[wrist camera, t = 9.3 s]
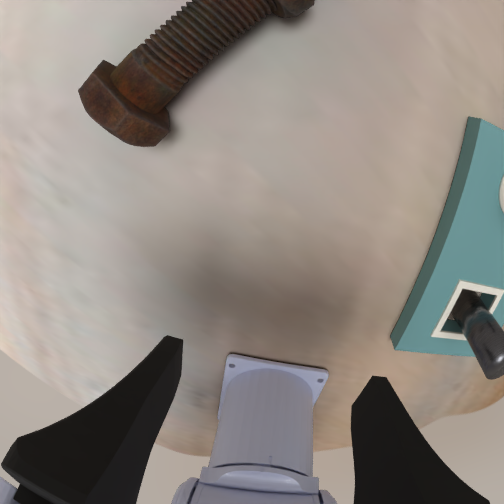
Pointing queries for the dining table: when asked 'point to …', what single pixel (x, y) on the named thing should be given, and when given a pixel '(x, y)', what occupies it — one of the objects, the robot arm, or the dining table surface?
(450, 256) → the pin board
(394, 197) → the dining table surface
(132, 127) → the bolt
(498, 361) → the pin
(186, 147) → the dining table surface
